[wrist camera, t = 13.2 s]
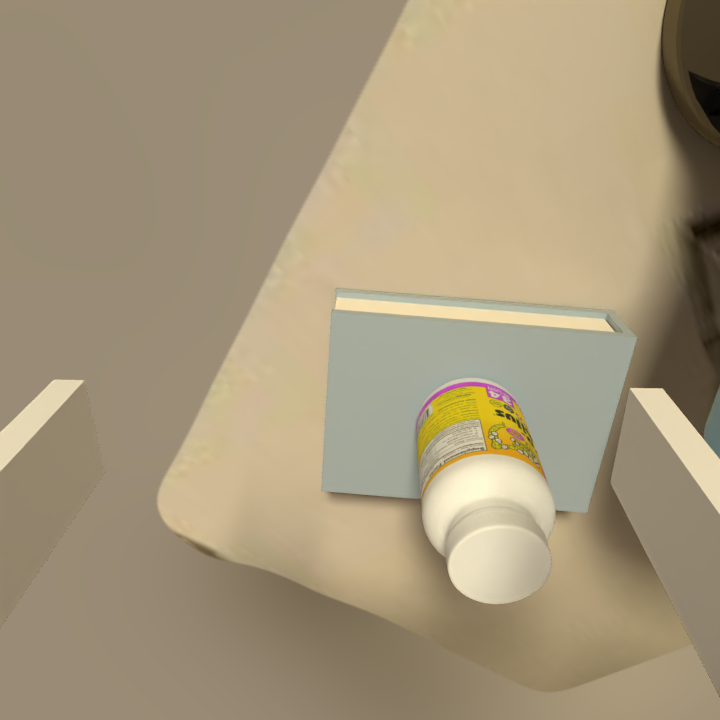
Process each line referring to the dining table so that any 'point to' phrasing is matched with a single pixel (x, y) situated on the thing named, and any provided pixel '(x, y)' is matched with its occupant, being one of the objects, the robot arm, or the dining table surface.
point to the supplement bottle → (484, 491)
